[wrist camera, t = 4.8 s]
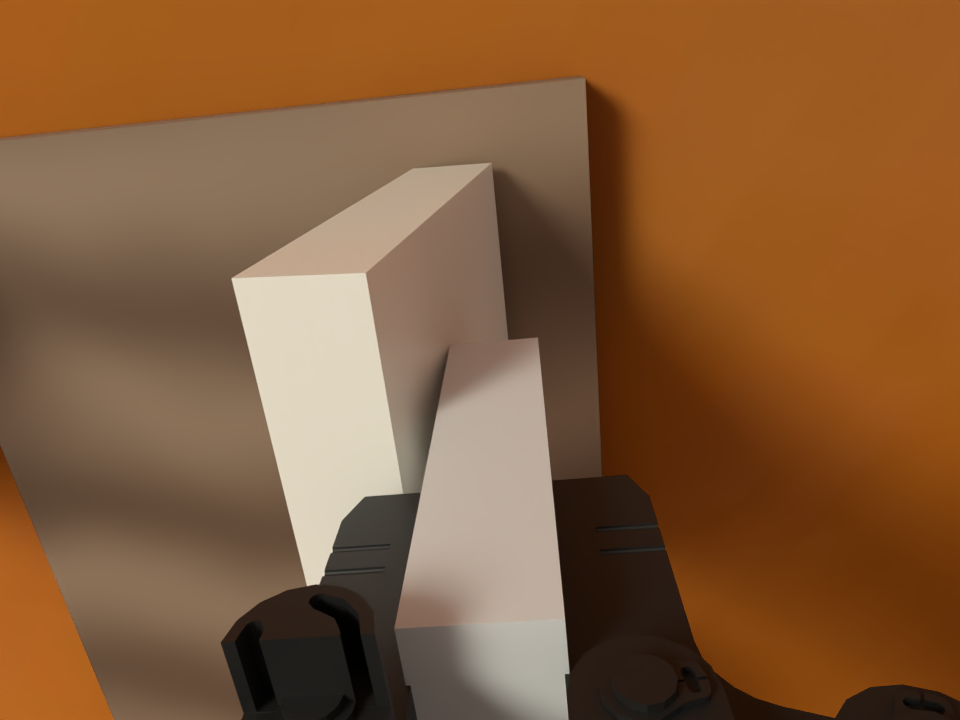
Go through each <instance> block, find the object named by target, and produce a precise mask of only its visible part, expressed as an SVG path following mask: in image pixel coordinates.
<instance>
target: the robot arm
mask: <svg viewBox="0 0 960 720" xmlns="http://www.w3.org/2000/svg"><path fill="white" fill-rule="evenodd" d="M332 549H333V552H332V553H330V556H329V558H328V561H327V564H326V567H325V570H324V572H325V575H324V576H322V578H321V581H320V584H319V585H318V584H315V585H310V586H305V587H300V588H295V589H290V590H286V591H284V592H282V593H280V594H277V595H275V596H273V597H271V598H269V599H266V600H264V601H262V602H260V603H259V604H257V605H256V606H255V607H253V608H252V609H251V610H250V611H248V612H247V613H246V614H244V615H243V616H242V617H240V618H239V619H238V620H237V621H236V622H235V623H234V625H233V626H232V628H231V629H230V630H229V632H228V633H227V634H226V636H225V637H224V639H223V640H222V641H221V646H222V649H223V652H224V655H225V658H226V661H227V664H228V667H229V670H230V673H231V676H232V679H233V682H234V685H235V689H236V692H237V695H238V698H239V701H240V704H241V707H242V710H243V713H244V714H243V717H242V719H241V720H960V701H958V700H956V699H953V698H951V697H949V696H947V695H945V694H942V693H940V692H937V691H932V690H927V689H922V688H917V687H912V686H907V685H891V686H879V687H870V688H868V689H866V690H864V691H862V692H860V693H858V694H856V695H854V696H852V697H850V698H849V699H847V700H846V701H845V703H844V704H843V706H842V708H841V709H840V711H839V713H838V714H837V716H836V718H832V717H827V716H823V715H818V714H814V713H809V712H804V711H800V710H795V709H791V708H786V707H782V706H778V705H775V704H772V703H769V702H766V701H762V700H759V699H756V698H754V697H752V696H750V695H748V694H746V693H744V692H742V691H741V690H739V689H737V688H735V687H733V686H732V685H730V684H729V683H728V682H727V681H725V680H724V679H723V678H721V677H720V676H719V675H717V674H716V673H715V672H714V671H713V669H712V667H711V665H709V664H708V663H707V662H706V661H705V660H704V659H703V658H702V656H701V654H700V652H699V650H698V648H697V646H696V644H695V642H694V639H693V636H692V633H691V629H690V626H689V623H688V620H687V616H686V613H685V610H684V607H683V603H682V600H681V597H680V594H679V591H678V587H677V584H676V581H675V578H674V574H673V571H672V568H671V565H670V561H669V558H668V555H667V552H666V551H665V545H664V542H663V539H662V536H661V532H660V529H659V528H658V523H657V519H656V516H655V513H654V510H653V506H652V503H651V500H650V497H649V495H648V494H646V493H645V492H644V491H643V490H642V489H641V488H640V487H639V486H638V485H637V484H636V483H635V482H634V481H632V480H631V479H630V478H629V477H628V476H627V475H618V476H605V477H591V478H577V479H564V480H552V479H551V469H550V458H549V448H548V438H547V427H546V417H545V407H544V396H543V386H542V376H541V365H540V355H539V345H538V337H537V338H526V339H515V340H503V341H492V342H481V343H469V344H458V345H450V348H449V353H448V358H447V363H446V368H445V373H444V378H443V384H442V389H441V394H440V399H439V404H438V409H437V414H436V419H435V424H434V429H433V434H432V440H431V445H430V450H429V455H428V460H427V465H426V470H425V475H424V480H423V485H422V490H421V493H408V494H394V495H380V496H366V497H364V498H363V499H362V500H361V501H360V502H359V503H358V504H357V505H356V506H355V507H354V508H353V509H352V510H351V512H350V513H349V514H348V515H347V516H346V517H345V518H344V519H343V520H342V521H341V524H340V527H339V530H338V533H337V536H336V539H335V541H334V544H333V547H332Z"/></svg>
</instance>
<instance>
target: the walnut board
mask: <svg viewBox="0 0 960 720" xmlns="http://www.w3.org/2000/svg"><path fill="white" fill-rule="evenodd" d="M481 163H492V171H493V182H494V193H495V203H496V214H497V225H498V236H499V246H500V257H501V268H502V278H503V289H504V300H505V311H506V321H507V332H508V340H515V339H526V338H537V337H538V345H539V355H540V365H541V376H542V386H543V396H544V407H545V417H546V427H547V438H548V448H549V458H550V469H551V479H552V480H564V479H577V478H591V477H602V463H601V439H600V415H599V391H598V367H597V344H596V320H595V296H594V272H593V248H592V224H591V200H590V176H589V153H588V129H587V105H586V81H585V78H584V77H582V76H575V77H565V78H556V79H547V80H537V81H528V82H518V83H509V84H500V85H490V86H481V87H472V88H462V89H453V90H444V91H434V92H425V93H416V94H406V95H397V96H387V97H378V98H369V99H359V100H350V101H341V102H331V103H322V104H313V105H303V106H294V107H285V108H275V109H266V110H257V111H247V112H238V113H228V114H219V115H210V116H200V117H191V118H182V119H172V120H163V121H154V122H144V123H135V124H126V125H116V126H107V127H98V128H88V129H79V130H69V131H60V132H51V133H41V134H32V135H23V136H13V137H4V138H0V446H1V448H2V451H3V453H4V456H5V458H6V460H7V463H8V465H9V468H10V470H11V473H12V475H13V477H14V480H15V482H16V485H17V487H18V489H19V492H20V494H21V497H22V499H23V501H24V504H25V506H26V509H27V511H28V513H29V516H30V518H31V521H32V523H33V526H34V528H35V530H36V533H37V535H38V538H39V540H40V542H41V545H42V547H43V550H44V552H45V554H46V557H47V559H48V562H49V564H50V566H51V569H52V571H53V574H54V576H55V578H56V581H57V583H58V586H59V588H60V591H61V593H62V595H63V598H64V600H65V603H66V605H67V607H68V610H69V612H70V615H71V617H72V619H73V622H74V624H75V627H76V629H77V631H78V634H79V636H80V639H81V641H82V643H83V646H84V648H85V651H86V653H87V656H88V658H89V660H90V663H91V665H92V668H93V670H94V672H95V675H96V677H97V680H98V682H99V684H100V687H101V689H102V692H103V694H104V696H105V699H106V701H107V704H108V706H109V709H110V711H111V713H112V716H113V718H114V720H241V719H242V717H243V714H244V713H243V710H242V707H241V704H240V701H239V698H238V695H237V692H236V689H235V685H234V682H233V679H232V676H231V673H230V670H229V667H228V664H227V661H226V658H225V655H224V652H223V649H222V646H221V641H222V640H223V639H224V637H225V636H226V634H227V633H228V632H229V630H230V629H231V628H232V626H233V625H234V623H235V622H236V621H237V620H238V619H239V618H240V617H242V616H243V615H244V614H246V613H247V612H248V611H250V610H251V609H252V608H253V607H255V606H256V605H257V604H259V603H260V602H262V601H264V600H266V599H269V598H271V597H273V596H275V595H277V594H280V593H282V592H284V591H286V590H290V589H295V588H300V587H305V586H307V584H306V580H305V576H304V572H303V567H302V563H301V559H300V555H299V551H298V547H297V543H296V539H295V535H294V531H293V527H292V523H291V519H290V515H289V511H288V506H287V502H286V498H285V494H284V490H283V486H282V482H281V478H280V474H279V470H278V466H277V462H276V458H275V454H274V450H273V446H272V441H271V437H270V433H269V429H268V425H267V421H266V417H265V413H264V409H263V405H262V401H261V397H260V393H259V389H258V385H257V380H256V376H255V372H254V368H253V364H252V360H251V356H250V352H249V348H248V344H247V340H246V336H245V332H244V328H243V324H242V320H241V315H240V311H239V307H238V303H237V299H236V295H235V291H234V287H233V283H232V279H231V278H233V277H234V276H236V275H238V274H239V273H241V272H243V271H244V270H246V269H248V268H249V267H251V266H253V265H254V264H256V263H257V262H259V261H261V260H262V259H264V258H266V257H267V256H269V255H271V254H272V253H274V252H276V251H277V250H279V249H281V248H282V247H284V246H286V245H287V244H289V243H291V242H292V241H294V240H296V239H297V238H299V237H300V236H302V235H304V234H305V233H307V232H309V231H310V230H312V229H314V228H315V227H317V226H319V225H320V224H322V223H324V222H325V221H327V220H329V219H330V218H332V217H334V216H335V215H337V214H339V213H340V212H342V211H344V210H345V209H347V208H348V207H350V206H352V205H353V204H355V203H357V202H358V201H360V200H362V199H363V198H365V197H367V196H368V195H370V194H372V193H373V192H375V191H377V190H378V189H380V188H382V187H383V186H385V185H387V184H388V183H390V182H391V181H393V180H395V179H396V178H398V177H400V176H401V175H403V174H405V173H406V172H408V171H410V170H411V169H413V168H427V167H441V166H454V165H468V164H481Z"/></svg>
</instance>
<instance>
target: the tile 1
mask: <svg viewBox="0 0 960 720" xmlns="http://www.w3.org/2000/svg"><path fill="white" fill-rule="evenodd" d="M231 279H232V283H233V287H234V291H235V295H236V299H237V303H238V307H239V311H240V315H241V320H242V324H243V328H244V332H245V336H246V340H247V344H248V348H249V352H250V356H251V360H252V364H253V368H254V372H255V376H256V380H257V385H258V389H259V393H260V397H261V401H262V405H263V409H264V413H265V417H266V421H267V425H268V429H269V433H270V437H271V441H272V446H273V450H274V454H275V458H276V462H277V466H278V470H279V474H280V478H281V482H282V486H283V490H284V494H285V498H286V502H287V506H288V511H289V515H290V519H291V523H292V527H293V531H294V535H295V539H296V543H297V547H298V551H299V555H300V559H301V563H302V567H303V572H304V576H305V580H306V584H307V586H310V585H315V584H318V585H319V584H320V581H321V578H322V576H324V575H325V572H324V570H325V567H326V564H327V561H328V558H329V556H330V553H332V552H333V549H332V547H333V544H334V541H335V539H336V536H337V533H338V530H339V527H340V524H341V521H342V520H343V519H344V518H345V517H346V516H347V515H348V514H349V513H350V512H351V510H352V509H353V508H354V507H355V506H356V505H357V504H358V503H359V502H360V501H361V500H362V499H363V498H364V497H366V496H380V495H394V494H408V493H421V490H422V485H423V480H424V475H425V470H426V465H427V460H428V455H429V450H430V445H431V440H432V434H433V429H434V424H435V419H436V414H437V409H438V404H439V399H440V394H441V389H442V384H443V378H444V373H445V368H446V363H447V358H448V353H449V348H450V345H458V344H469V343H481V342H492V341H503V340H508V332H507V321H506V311H505V300H504V289H503V278H502V268H501V257H500V246H499V236H498V225H497V214H496V203H495V193H494V182H493V171H492V163H481V164H468V165H454V166H441V167H427V168H413V169H411V170H410V171H408V172H406V173H405V174H403V175H401V176H400V177H398V178H396V179H395V180H393V181H391V182H390V183H388V184H387V185H385V186H383V187H382V188H380V189H378V190H377V191H375V192H373V193H372V194H370V195H368V196H367V197H365V198H363V199H362V200H360V201H358V202H357V203H355V204H353V205H352V206H350V207H348V208H347V209H345V210H344V211H342V212H340V213H339V214H337V215H335V216H334V217H332V218H330V219H329V220H327V221H325V222H324V223H322V224H320V225H319V226H317V227H315V228H314V229H312V230H310V231H309V232H307V233H305V234H304V235H302V236H300V237H299V238H297V239H296V240H294V241H292V242H291V243H289V244H287V245H286V246H284V247H282V248H281V249H279V250H277V251H276V252H274V253H272V254H271V255H269V256H267V257H266V258H264V259H262V260H261V261H259V262H257V263H256V264H254V265H253V266H251V267H249V268H248V269H246V270H244V271H243V272H241V273H239V274H238V275H236V276H234V277H233V278H231Z"/></svg>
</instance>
